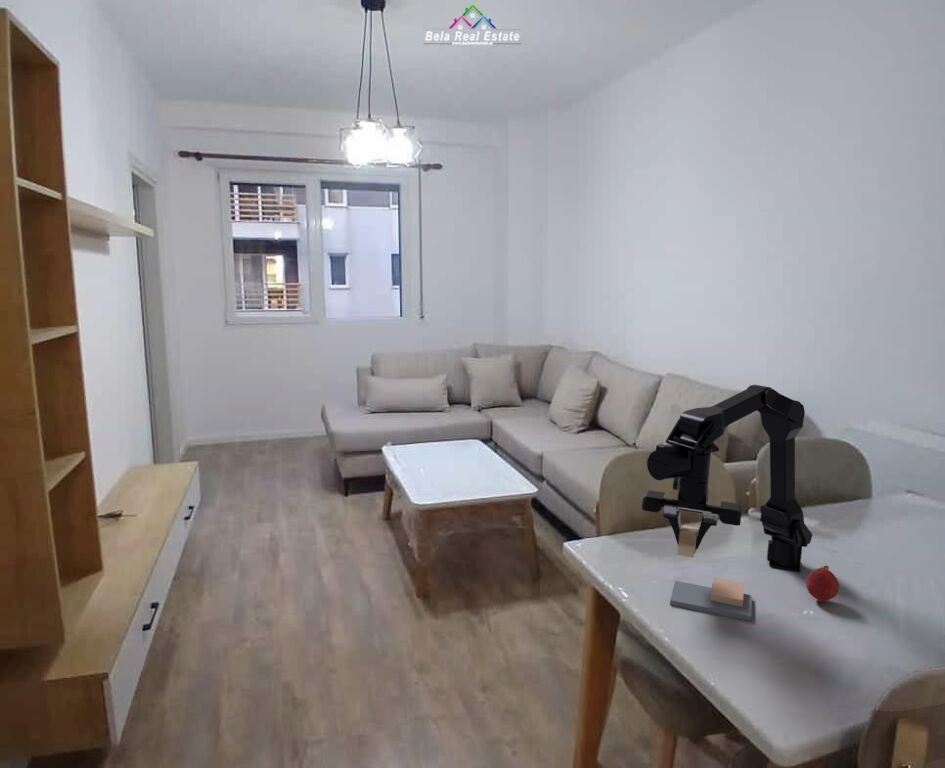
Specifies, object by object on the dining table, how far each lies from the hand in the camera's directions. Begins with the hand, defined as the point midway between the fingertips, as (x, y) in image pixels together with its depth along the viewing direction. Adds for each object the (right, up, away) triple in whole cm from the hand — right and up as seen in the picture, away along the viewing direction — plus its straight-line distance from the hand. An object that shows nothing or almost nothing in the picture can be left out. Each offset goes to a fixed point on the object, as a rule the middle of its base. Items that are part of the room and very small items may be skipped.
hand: (687, 547), depth 129 cm
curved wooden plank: (0, -1, 0) cm, 1 cm away
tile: (+10, -8, +3) cm, 13 cm away
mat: (+4, -11, -1) cm, 12 cm away
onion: (+27, -11, -1) cm, 29 cm away
